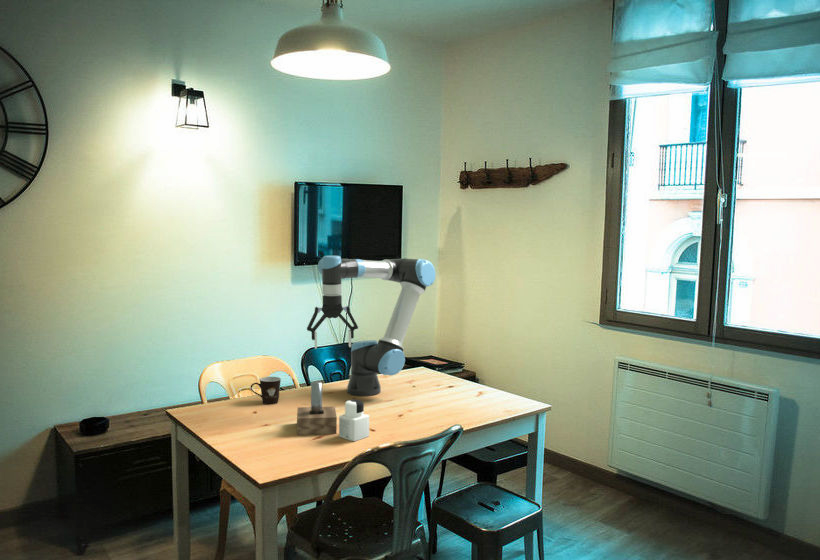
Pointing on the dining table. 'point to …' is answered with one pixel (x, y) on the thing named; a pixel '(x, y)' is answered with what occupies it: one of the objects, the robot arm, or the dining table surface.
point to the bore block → (316, 421)
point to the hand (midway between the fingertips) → (332, 347)
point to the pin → (316, 397)
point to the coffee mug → (269, 389)
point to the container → (354, 421)
